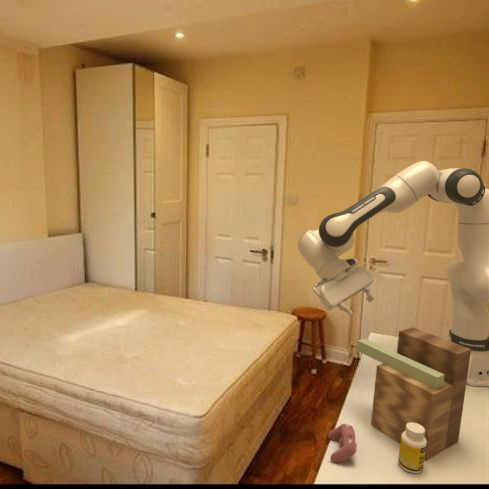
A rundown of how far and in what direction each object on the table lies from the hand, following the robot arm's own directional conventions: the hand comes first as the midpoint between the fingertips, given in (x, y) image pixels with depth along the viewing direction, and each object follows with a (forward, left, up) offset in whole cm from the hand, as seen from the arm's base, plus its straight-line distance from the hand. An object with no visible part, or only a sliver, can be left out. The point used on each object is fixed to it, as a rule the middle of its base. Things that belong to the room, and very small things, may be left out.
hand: (362, 307), depth 124 cm
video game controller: (+5, +34, -26) cm, 43 cm away
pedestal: (-13, +22, -26) cm, 36 cm away
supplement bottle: (-10, +35, -26) cm, 45 cm away
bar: (-8, +20, -9) cm, 24 cm away
